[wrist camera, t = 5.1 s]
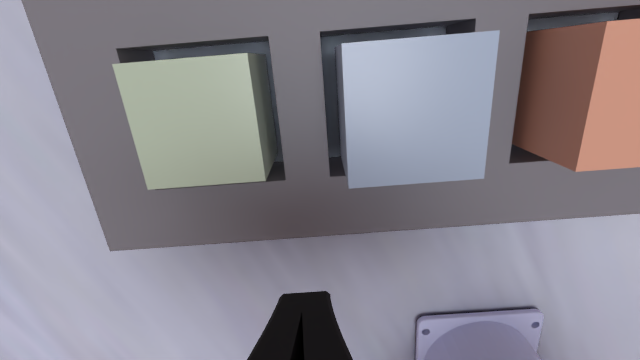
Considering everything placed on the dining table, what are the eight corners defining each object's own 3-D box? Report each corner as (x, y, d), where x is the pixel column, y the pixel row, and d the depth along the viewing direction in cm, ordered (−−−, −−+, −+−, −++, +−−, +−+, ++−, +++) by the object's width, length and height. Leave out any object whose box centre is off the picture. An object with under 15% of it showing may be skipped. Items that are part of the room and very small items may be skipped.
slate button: (441, 148, 15) (484, 178, 11) (340, 155, 16) (348, 188, 12) (447, 38, 14) (499, 30, 10) (334, 47, 14) (341, 43, 10)
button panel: (634, 186, 18) (693, 209, 15) (141, 222, 19) (109, 251, 16) (711, -84, 14) (812, -121, 11) (65, -27, 14) (4, -48, 12)
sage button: (277, 152, 17) (265, 180, 13) (186, 159, 17) (147, 189, 13) (265, 54, 15) (247, 53, 11) (164, 62, 15) (112, 63, 11)
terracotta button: (612, 135, 15) (714, 161, 11) (509, 142, 15) (575, 171, 11) (639, 22, 14) (770, 7, 10) (523, 32, 14) (607, 21, 10)
